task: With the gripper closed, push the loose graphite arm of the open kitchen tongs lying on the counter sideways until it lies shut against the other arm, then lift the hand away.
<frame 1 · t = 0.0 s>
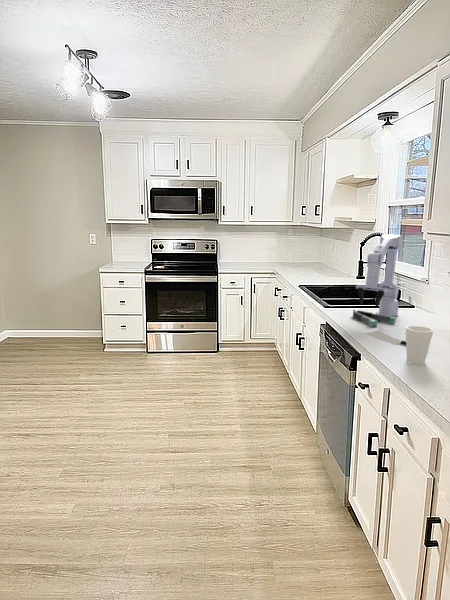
hand: (368, 305, 226), 11 cm above the countertop, tool pointing down, fingers open, 7 cm apart
foam cup: (415, 362, 176), on the countertop
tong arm: (373, 316, 240), point 2 cm above the countertop, hinge at 30.0°
tongs fixed arm: (354, 317, 247), on the countertop
kitchen cleaver: (393, 343, 201), on the countertop
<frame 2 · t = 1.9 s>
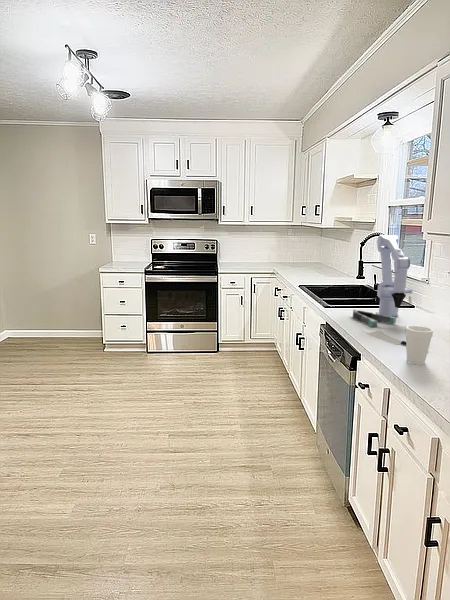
hand: (397, 307, 237), 8 cm above the countertop, tool pointing down, fingers closed
nothing on the countertop moved.
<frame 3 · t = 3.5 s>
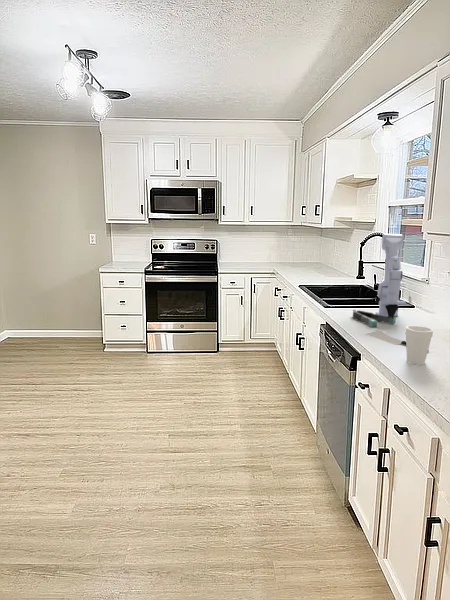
hand: (390, 319, 237), 2 cm above the countertop, tool pointing down, fingers closed
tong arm: (373, 316, 240), point 2 cm above the countertop, hinge at 29.7°, touching gripper
everything else where it was.
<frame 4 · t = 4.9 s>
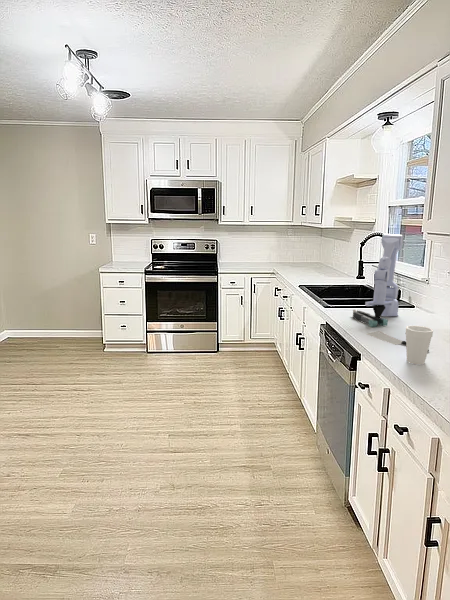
hand: (377, 319, 235), 2 cm above the countertop, tool pointing down, fingers closed
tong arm: (369, 317, 238), point 2 cm above the countertop, hinge at 7.9°, touching gripper
everything else where it was.
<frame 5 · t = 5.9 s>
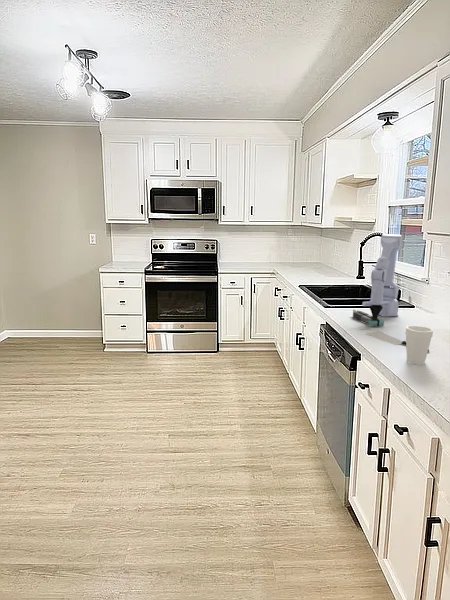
hand: (374, 319, 235), 2 cm above the countertop, tool pointing down, fingers closed
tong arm: (367, 317, 237), point 2 cm above the countertop, hinge at 1.2°, touching gripper
everything else where it was.
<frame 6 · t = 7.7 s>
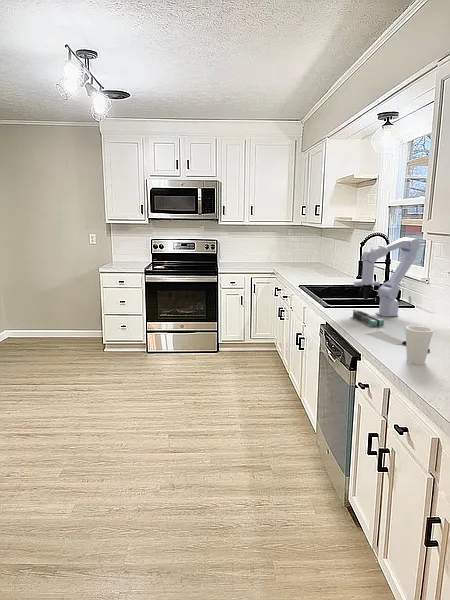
hand: (365, 298, 248), 9 cm above the countertop, tool pointing down, fingers closed
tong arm: (367, 317, 237), point 2 cm above the countertop, hinge at 1.2°
everything else where it was.
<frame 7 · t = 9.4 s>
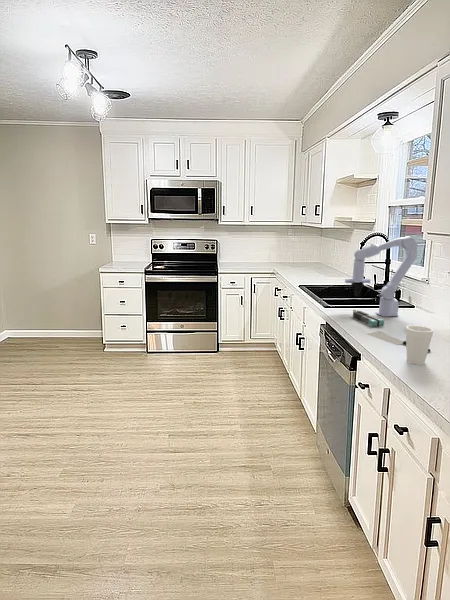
hand: (356, 295, 256), 9 cm above the countertop, tool pointing down, fingers closed
nothing on the countertop moved.
at the end: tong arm at +1° (first picture: +30°) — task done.
